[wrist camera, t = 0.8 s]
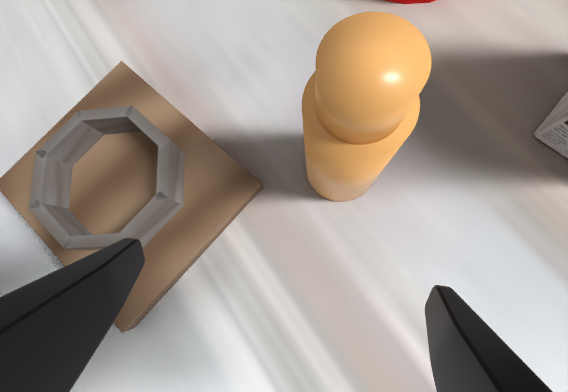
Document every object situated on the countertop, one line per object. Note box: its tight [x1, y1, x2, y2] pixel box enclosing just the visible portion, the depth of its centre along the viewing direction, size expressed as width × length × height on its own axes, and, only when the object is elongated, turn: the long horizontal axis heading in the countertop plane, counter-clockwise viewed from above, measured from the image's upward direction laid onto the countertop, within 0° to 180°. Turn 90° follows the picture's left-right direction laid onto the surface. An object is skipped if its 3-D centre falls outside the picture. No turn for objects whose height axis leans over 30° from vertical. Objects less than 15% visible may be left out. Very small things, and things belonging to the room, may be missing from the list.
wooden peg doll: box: [302, 12, 432, 202], centre depth 17 cm, size 5×5×13 cm
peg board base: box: [0, 61, 263, 332], centre depth 23 cm, size 16×14×4 cm
